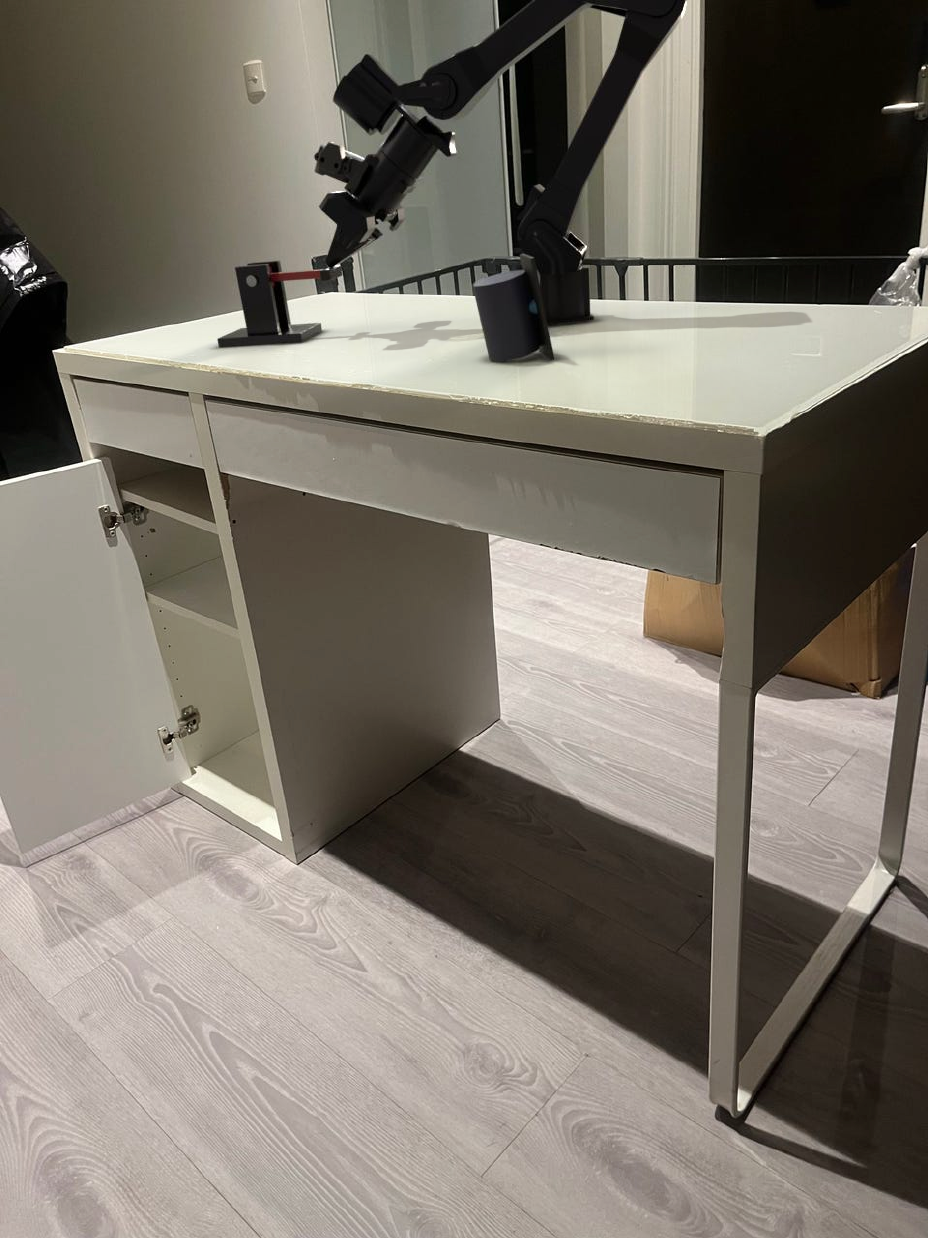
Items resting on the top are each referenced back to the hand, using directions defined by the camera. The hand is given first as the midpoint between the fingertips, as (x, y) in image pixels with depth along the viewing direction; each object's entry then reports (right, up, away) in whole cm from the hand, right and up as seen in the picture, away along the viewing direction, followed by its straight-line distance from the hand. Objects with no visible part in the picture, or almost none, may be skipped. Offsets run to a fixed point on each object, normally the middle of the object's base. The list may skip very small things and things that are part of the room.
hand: (328, 265), depth 120 cm
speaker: (+23, -18, -21) cm, 36 cm away
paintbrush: (-5, -2, +2) cm, 6 cm away
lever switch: (-9, -8, +6) cm, 13 cm away
